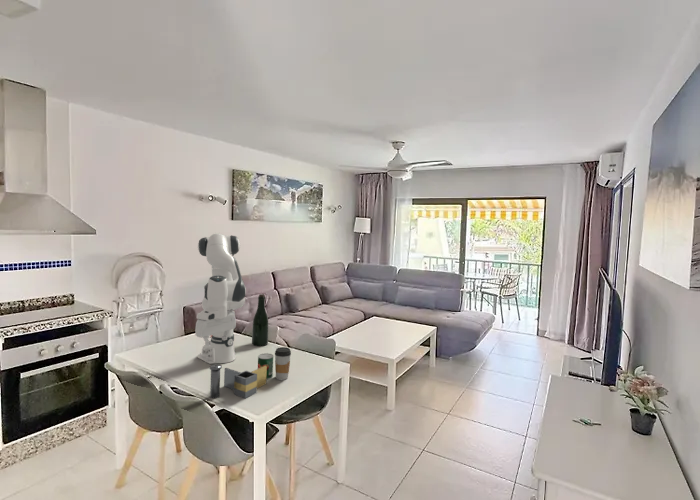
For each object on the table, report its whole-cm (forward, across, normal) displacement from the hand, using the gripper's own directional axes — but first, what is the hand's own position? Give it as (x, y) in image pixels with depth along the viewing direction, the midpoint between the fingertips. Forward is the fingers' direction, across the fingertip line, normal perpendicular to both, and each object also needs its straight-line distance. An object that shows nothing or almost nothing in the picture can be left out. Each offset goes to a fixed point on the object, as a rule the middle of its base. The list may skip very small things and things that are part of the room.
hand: (216, 342), depth 170 cm
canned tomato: (+25, -30, +3) cm, 39 cm away
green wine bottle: (+25, -67, -35) cm, 80 cm away
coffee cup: (+25, -34, +11) cm, 44 cm away
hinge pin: (+25, 0, 0) cm, 25 cm away
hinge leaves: (+25, -15, +4) cm, 29 cm away
